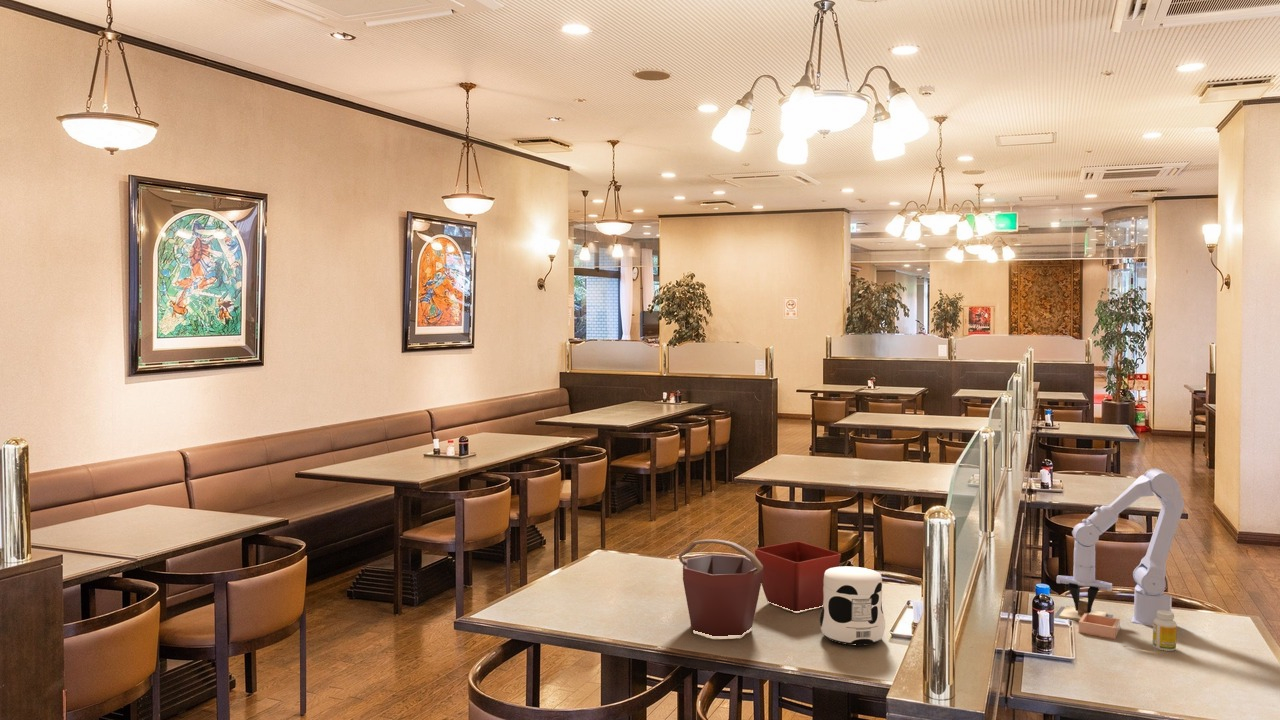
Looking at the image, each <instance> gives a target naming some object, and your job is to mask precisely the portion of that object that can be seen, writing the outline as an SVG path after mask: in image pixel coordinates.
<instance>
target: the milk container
mask: <svg viewBox="0 0 1280 720" xmlns="http://www.w3.org/2000/svg"><path fill="white" fill-rule="evenodd" d="M882 578H883V577H882V574H881V573H880V572H878V571H876V570H873V569H869V568H866V567H859V566H848V565H847V566H846V565H845V566H839V567H834V568H830V569H827V570H826V571H825V574H824V587H823V593H824V601H823V607H822V608H821V611H820V614H819V625H820V631H821V632H822V635H824V637H825V638H826V639H828V638H829V639H828V640H830V639H831V640H830V641H832V640H833V641H832V642H835V641H836V643H838V642H840V643H839V644H841V643H846V644H845V645H847V644H856V645H855V646H865V645H864V644H869V645H872V643H873V644H876V643H878V642H879V641H881V640H882V638H884V635H885V630H886V619H885V614H884V611H883V605H882V604H883V579H882ZM875 642H876V643H875Z"/></svg>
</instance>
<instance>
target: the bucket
mask: <svg viewBox="0 0 1280 720" xmlns="http://www.w3.org/2000/svg"><path fill="white" fill-rule="evenodd" d="M702 544H717V545H723V546H727V547H731V548H732V549H734V550H735V551H737V552H739V553H741V554H742V555H744V556H742V555H741V556H740V555H730V554H729V555H727V554H715V553H714V554H713V553H711V554H706V555H705V554H704V555H699V556H695V557H689V558H683V556H685V555H687V554H688V553H690V552H691V551H692V550H693V549H694V548H695V547H696V546H697V545H702ZM677 556H678V560H679V562H680V563H681V564H682V565H683V566H682V582H683V588H684V593H685V594H684V595H685V598H686V604H687V610H688V615H689V621H690V627H691V631H692V630H695V631H698V632H702V633H705V634H709V635H712V636H728V635H742V634H743V633H744V632H746V631H747V630H749V629H750V628H751V627H752V628H753V624H754V620H755V615H756V610H757V605H758V600H759V596H760V590H761V587H762V584H761V582H762V577H763V565H762V564H761V562H760V561H759V560H758V559H757V557H756V556H755V553H752V552H751V551H750V550H748V549H747V548H745V547H743V546H742V545H740V544H738V543H736V542H733V541H729V540H723V539H699V540H695V541H691V543H690V544H689V545H688V546H687V547H686V548H684V550H681V551H680V552H679V553H678V554H677Z"/></svg>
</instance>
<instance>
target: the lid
mask: <svg viewBox="0 0 1280 720" xmlns="http://www.w3.org/2000/svg"><path fill="white" fill-rule="evenodd" d="M1064 607H1065V608H1064V610H1063V611H1062V612H1061V614H1060V615H1059V617H1060V618H1059V619H1062V618H1066V619H1065V620H1067V619H1071V620H1070V621H1073V620H1077V621H1076V622H1079V621H1080V619H1081V618H1082V616H1083V615H1084V613H1087V614H1092V615H1098V616H1104V617H1106V616H1107V614H1108V612H1106V611H1100V610H1094V609H1091V612H1090V613H1088V612H1087V608H1088V600H1087V601H1086V600H1080V599H1079V602H1078V611H1076V609H1075V606H1069V605H1066V606H1064Z"/></svg>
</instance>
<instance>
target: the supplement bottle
mask: <svg viewBox="0 0 1280 720" xmlns="http://www.w3.org/2000/svg"><path fill="white" fill-rule="evenodd" d="M1156 616H1157V617H1158V618H1155V619H1154V621H1153V626H1152V646H1153V648H1156V650H1159V651H1163V650H1164V651H1165V652H1174V651H1175V650H1176V649H1177V626H1178V624H1177V622H1176V621H1175V620H1174V619H1175V613H1174V612H1172V611H1171V612H1170V611H1165V610H1158V611H1157V615H1156Z"/></svg>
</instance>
